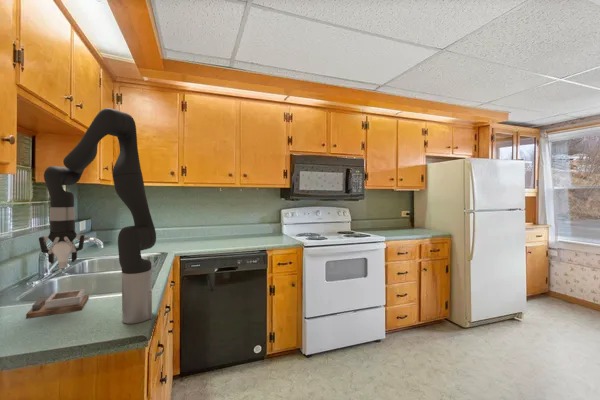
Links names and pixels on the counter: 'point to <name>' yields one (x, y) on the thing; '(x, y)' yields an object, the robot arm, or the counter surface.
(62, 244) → the lightbulb
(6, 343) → the counter surface
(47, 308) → the jig
